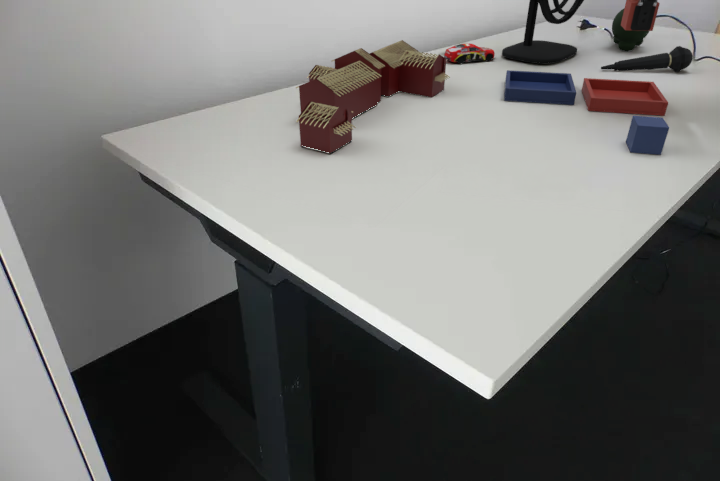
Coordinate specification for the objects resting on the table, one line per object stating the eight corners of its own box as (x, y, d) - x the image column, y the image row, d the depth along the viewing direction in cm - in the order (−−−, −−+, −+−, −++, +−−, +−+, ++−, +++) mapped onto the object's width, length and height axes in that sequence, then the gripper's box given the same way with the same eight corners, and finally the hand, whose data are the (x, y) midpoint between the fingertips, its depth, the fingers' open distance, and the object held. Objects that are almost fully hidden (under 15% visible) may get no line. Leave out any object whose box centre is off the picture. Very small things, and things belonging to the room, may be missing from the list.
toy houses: (375, 74, 127) (375, 29, 122) (455, 87, 118) (459, 39, 113) (245, 136, 95) (237, 78, 90) (342, 160, 86) (340, 98, 81)
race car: (488, 56, 141) (490, 40, 139) (498, 61, 136) (500, 44, 134) (441, 59, 138) (442, 43, 136) (449, 65, 134) (450, 48, 132)
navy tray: (568, 85, 118) (571, 73, 117) (573, 105, 107) (576, 92, 106) (505, 81, 121) (506, 70, 120) (503, 100, 110) (505, 88, 109)
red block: (647, 25, 100) (653, -2, 97) (652, 31, 96) (659, 3, 93) (620, 25, 100) (626, -2, 98) (624, 30, 97) (631, 2, 94)
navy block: (655, 144, 90) (663, 117, 88) (661, 154, 87) (669, 127, 84) (625, 141, 91) (632, 115, 89) (630, 152, 88) (637, 125, 85)
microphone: (601, 85, 128) (691, 75, 125) (606, 63, 124) (699, 53, 121) (595, 72, 131) (683, 62, 129) (600, 50, 127) (690, 40, 125)
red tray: (650, 94, 113) (653, 81, 111) (664, 116, 102) (668, 102, 100) (581, 90, 115) (584, 77, 114) (588, 111, 104) (591, 97, 103)
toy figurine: (610, 41, 159) (604, 53, 139) (626, -30, 151) (623, -29, 131) (645, 44, 156) (644, 56, 136) (663, -29, 147) (666, -28, 127)
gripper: (706, -90, 81) (670, 37, 90) (677, -92, 94) (648, 18, 104) (652, -89, 82) (622, 36, 92) (631, -92, 96) (607, 17, 106)
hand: (637, 25), depth 98 cm, fingers closed on red block, 4 cm apart
